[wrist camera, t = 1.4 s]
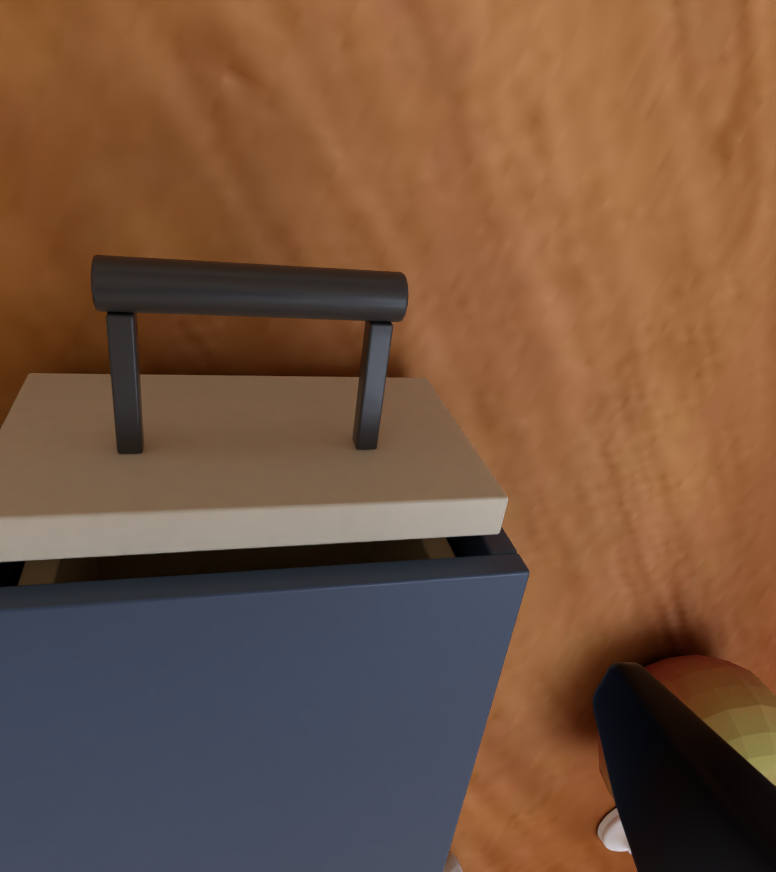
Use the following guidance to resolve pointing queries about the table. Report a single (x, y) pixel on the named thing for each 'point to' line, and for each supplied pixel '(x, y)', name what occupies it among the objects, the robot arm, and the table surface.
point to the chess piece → (613, 833)
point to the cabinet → (250, 714)
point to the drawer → (235, 443)
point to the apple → (722, 706)
